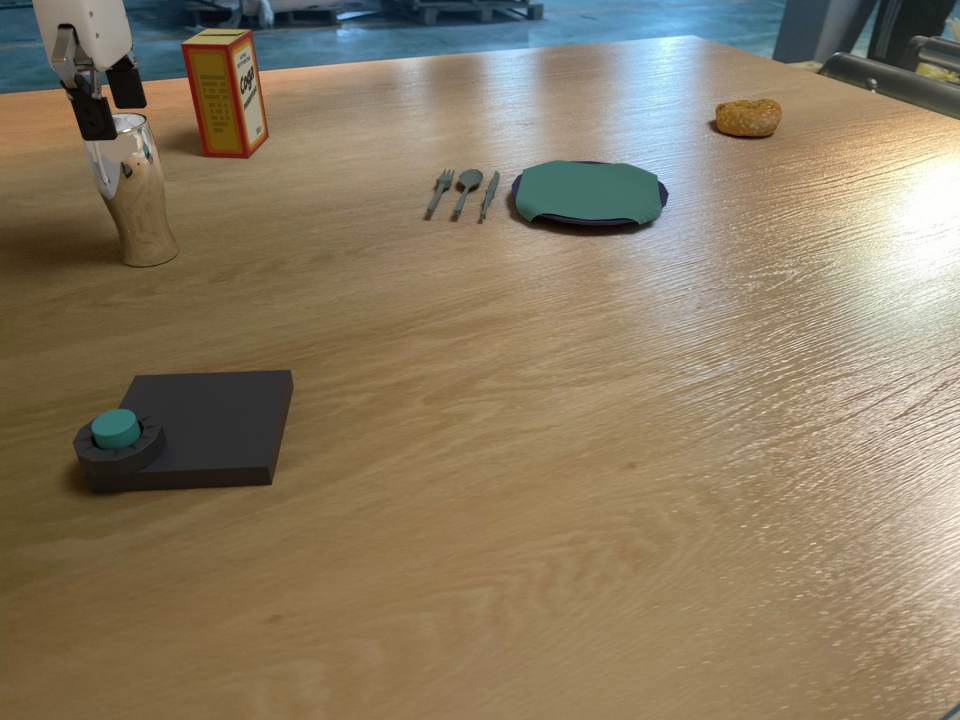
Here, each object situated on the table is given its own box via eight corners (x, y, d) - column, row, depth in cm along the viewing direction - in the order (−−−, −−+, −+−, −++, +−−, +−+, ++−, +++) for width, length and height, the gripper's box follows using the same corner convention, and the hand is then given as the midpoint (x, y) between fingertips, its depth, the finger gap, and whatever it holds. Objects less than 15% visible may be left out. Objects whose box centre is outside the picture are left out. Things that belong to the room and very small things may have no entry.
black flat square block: (75, 498, 55) (60, 462, 53) (129, 393, 65) (118, 359, 63) (271, 489, 56) (263, 454, 54) (294, 386, 66) (288, 353, 64)
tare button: (91, 452, 55) (84, 436, 54) (105, 425, 57) (99, 409, 56) (133, 450, 55) (128, 434, 54) (146, 423, 57) (140, 407, 56)
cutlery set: (672, 242, 89) (675, 224, 87) (419, 226, 92) (418, 209, 91) (662, 177, 105) (664, 161, 103) (447, 166, 108) (446, 150, 107)
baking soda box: (248, 158, 111) (227, 42, 101) (204, 156, 111) (179, 41, 102) (269, 136, 118) (251, 26, 109) (228, 135, 119) (207, 25, 110)
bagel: (750, 115, 127) (756, 86, 124) (792, 136, 118) (799, 105, 116) (698, 121, 124) (703, 91, 122) (737, 143, 116) (743, 112, 113)
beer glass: (132, 240, 89) (95, 111, 80) (191, 241, 89) (160, 112, 80) (107, 268, 83) (63, 133, 75) (170, 269, 83) (133, 134, 74)
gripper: (56, -79, 74) (108, 98, 84) (-28, -54, 60) (46, 155, 70) (134, -80, 75) (176, 96, 85) (68, -56, 61) (128, 152, 71)
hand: (117, 123), depth 78 cm, fingers open, 9 cm apart
